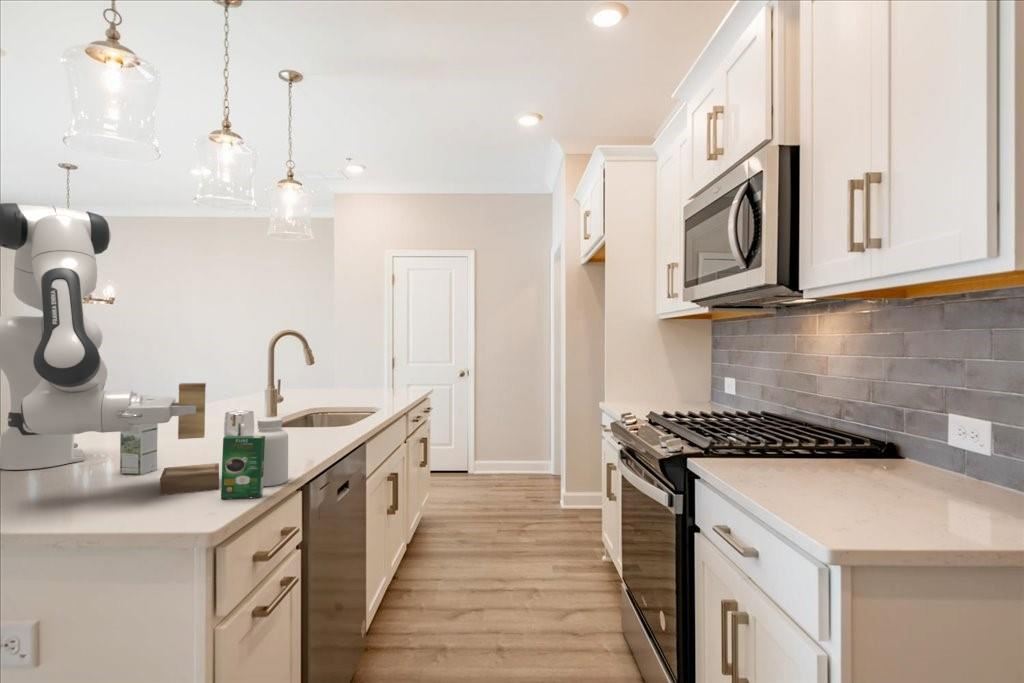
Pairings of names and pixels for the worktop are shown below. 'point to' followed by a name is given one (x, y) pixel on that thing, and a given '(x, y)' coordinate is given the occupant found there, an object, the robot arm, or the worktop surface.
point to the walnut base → (189, 478)
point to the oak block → (195, 422)
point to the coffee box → (242, 466)
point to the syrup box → (139, 449)
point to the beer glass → (239, 423)
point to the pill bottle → (274, 451)
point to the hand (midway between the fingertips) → (196, 407)
